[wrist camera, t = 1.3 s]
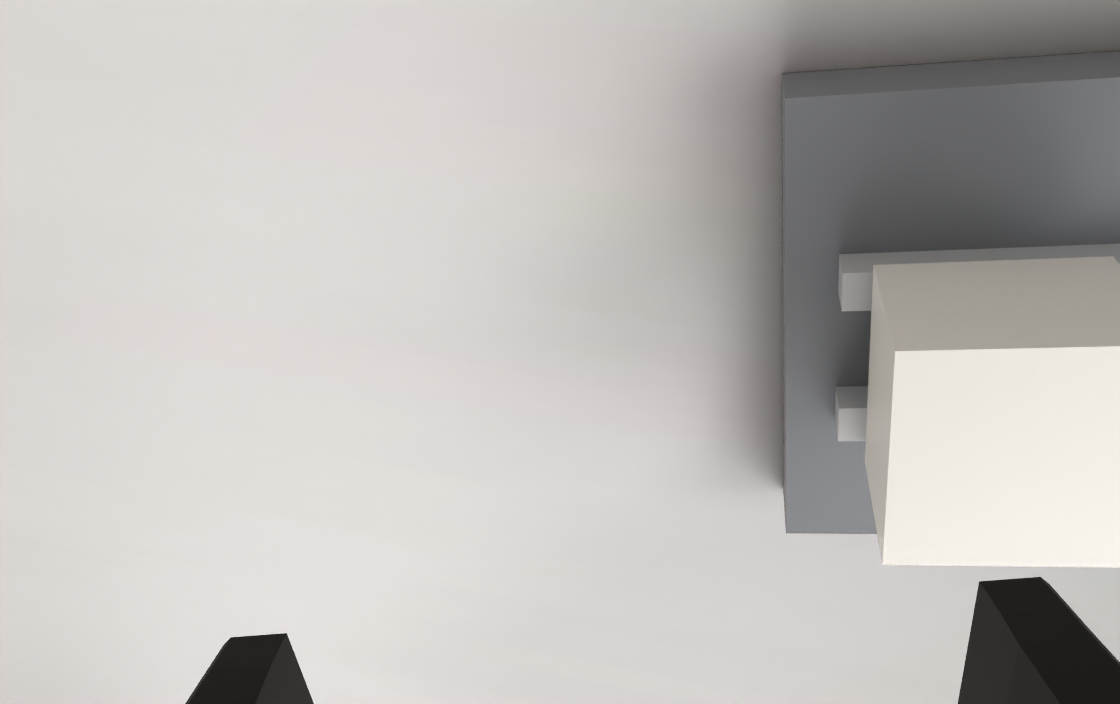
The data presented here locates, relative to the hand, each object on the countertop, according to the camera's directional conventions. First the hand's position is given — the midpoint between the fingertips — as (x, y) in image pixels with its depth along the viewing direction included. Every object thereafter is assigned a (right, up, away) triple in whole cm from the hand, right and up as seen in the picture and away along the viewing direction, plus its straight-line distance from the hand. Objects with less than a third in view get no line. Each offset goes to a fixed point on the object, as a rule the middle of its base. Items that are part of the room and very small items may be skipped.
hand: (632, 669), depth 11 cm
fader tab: (+7, +4, +9) cm, 12 cm away
